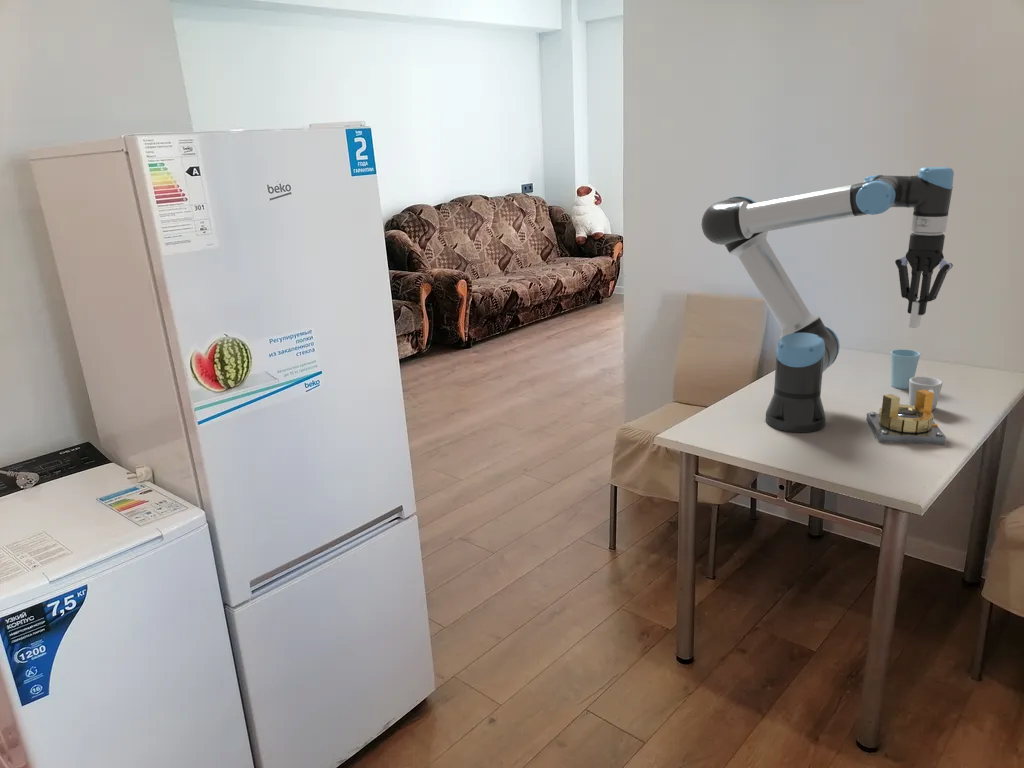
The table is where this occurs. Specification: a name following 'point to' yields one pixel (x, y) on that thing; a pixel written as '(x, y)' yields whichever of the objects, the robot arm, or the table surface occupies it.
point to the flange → (904, 437)
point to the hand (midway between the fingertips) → (914, 326)
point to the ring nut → (922, 407)
